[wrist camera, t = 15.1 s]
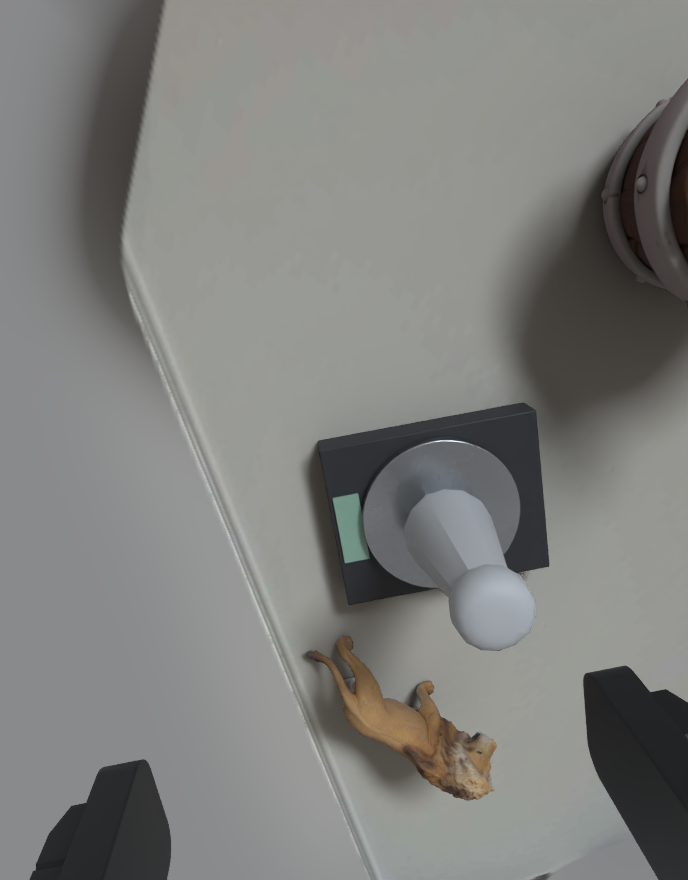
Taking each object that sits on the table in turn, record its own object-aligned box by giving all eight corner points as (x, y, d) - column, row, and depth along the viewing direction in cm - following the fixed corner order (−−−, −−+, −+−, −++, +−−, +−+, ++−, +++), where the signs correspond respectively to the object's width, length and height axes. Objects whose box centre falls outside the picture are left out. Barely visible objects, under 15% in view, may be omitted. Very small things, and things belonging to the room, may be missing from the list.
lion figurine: (481, 686, 52) (518, 771, 44) (450, 736, 53) (480, 828, 45) (320, 622, 49) (326, 700, 41) (290, 676, 51) (290, 763, 42)
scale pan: (375, 595, 46) (376, 601, 45) (349, 453, 43) (350, 456, 42) (523, 567, 46) (527, 572, 46) (509, 423, 43) (513, 426, 42)
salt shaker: (413, 567, 45) (460, 687, 32) (387, 496, 43) (425, 594, 31) (492, 538, 45) (569, 648, 32) (468, 466, 43) (540, 552, 31)
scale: (346, 588, 49) (348, 607, 46) (317, 440, 45) (319, 451, 43) (537, 551, 49) (550, 568, 47) (523, 402, 46) (537, 410, 43)
